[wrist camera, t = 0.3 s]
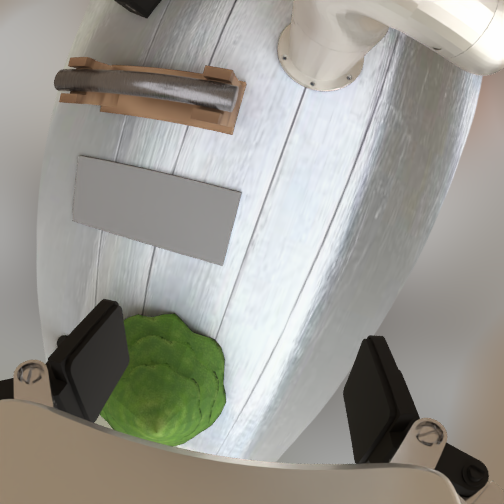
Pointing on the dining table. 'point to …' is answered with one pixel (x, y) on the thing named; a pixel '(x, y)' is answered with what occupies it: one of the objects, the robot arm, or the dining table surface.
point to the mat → (155, 208)
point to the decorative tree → (167, 382)
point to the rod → (150, 86)
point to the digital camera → (139, 6)
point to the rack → (159, 107)
